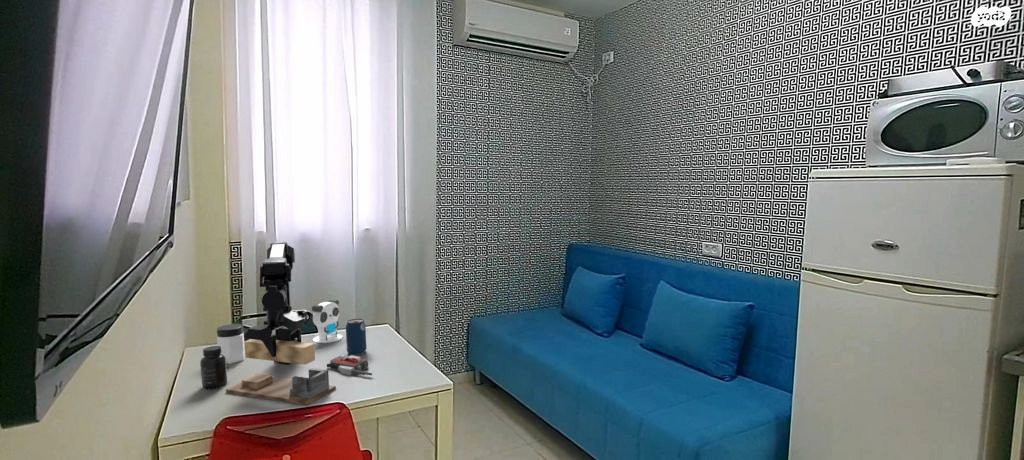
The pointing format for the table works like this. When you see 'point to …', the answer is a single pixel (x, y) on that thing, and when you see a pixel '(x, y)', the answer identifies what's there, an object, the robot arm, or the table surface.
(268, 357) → the oak rail
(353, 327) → the soda can
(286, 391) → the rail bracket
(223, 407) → the table surface
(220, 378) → the supplement bottle
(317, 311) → the panda figurine
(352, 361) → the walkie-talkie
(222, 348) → the jar
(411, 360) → the table surface
